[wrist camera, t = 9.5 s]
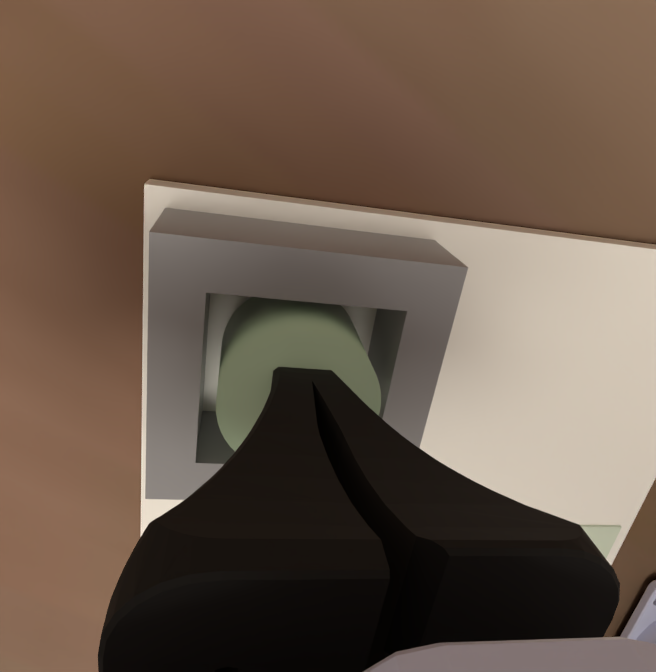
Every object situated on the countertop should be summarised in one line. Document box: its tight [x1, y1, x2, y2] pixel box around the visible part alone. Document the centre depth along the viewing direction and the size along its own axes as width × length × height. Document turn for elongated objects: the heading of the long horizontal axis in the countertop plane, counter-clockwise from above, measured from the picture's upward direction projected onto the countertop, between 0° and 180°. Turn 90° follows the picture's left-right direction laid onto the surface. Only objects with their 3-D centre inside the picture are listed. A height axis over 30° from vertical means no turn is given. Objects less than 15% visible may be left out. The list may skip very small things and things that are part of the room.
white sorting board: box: [141, 179, 656, 565], centre depth 18 cm, size 20×18×3 cm
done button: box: [216, 297, 381, 451], centre depth 13 cm, size 4×4×3 cm
